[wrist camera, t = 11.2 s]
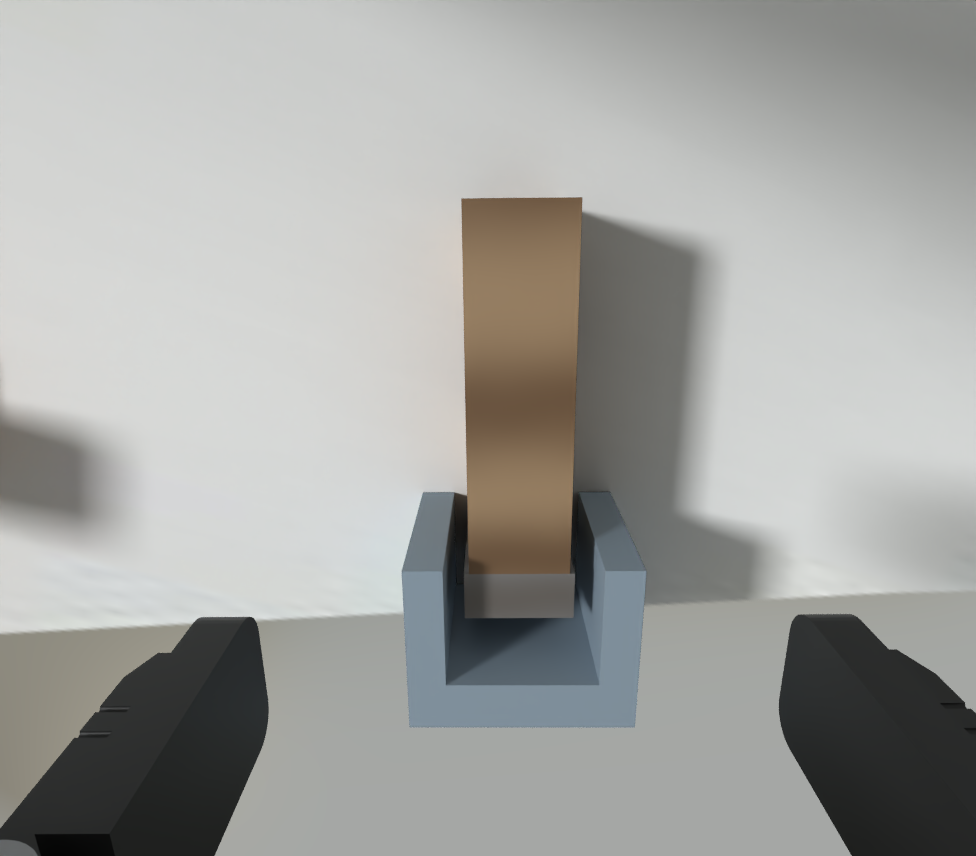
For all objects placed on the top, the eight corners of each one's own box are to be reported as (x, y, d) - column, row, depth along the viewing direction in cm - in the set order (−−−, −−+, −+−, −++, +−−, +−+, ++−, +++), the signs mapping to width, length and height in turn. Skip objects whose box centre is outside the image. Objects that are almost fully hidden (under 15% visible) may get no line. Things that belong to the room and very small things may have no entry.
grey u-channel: (423, 492, 30) (401, 571, 23) (610, 492, 30) (646, 571, 23) (427, 618, 32) (409, 727, 25) (603, 618, 32) (634, 727, 25)
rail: (463, 206, 27) (455, 198, 21) (567, 205, 27) (588, 197, 21) (469, 548, 31) (464, 618, 26) (558, 547, 31) (573, 617, 26)
